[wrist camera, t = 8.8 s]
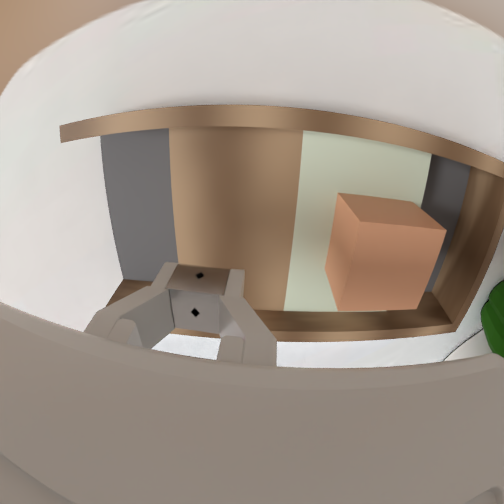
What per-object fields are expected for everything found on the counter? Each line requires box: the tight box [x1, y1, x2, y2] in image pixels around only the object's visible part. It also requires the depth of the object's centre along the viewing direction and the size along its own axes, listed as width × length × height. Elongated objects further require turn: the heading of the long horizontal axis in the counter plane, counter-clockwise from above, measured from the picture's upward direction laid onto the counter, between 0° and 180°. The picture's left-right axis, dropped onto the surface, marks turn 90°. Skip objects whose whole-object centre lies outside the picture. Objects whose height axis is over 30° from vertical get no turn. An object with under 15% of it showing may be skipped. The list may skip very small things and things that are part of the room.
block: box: [325, 193, 447, 311], centre depth 14 cm, size 5×5×4 cm
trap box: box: [60, 105, 504, 342], centre depth 16 cm, size 28×14×5 cm, turn 88°
